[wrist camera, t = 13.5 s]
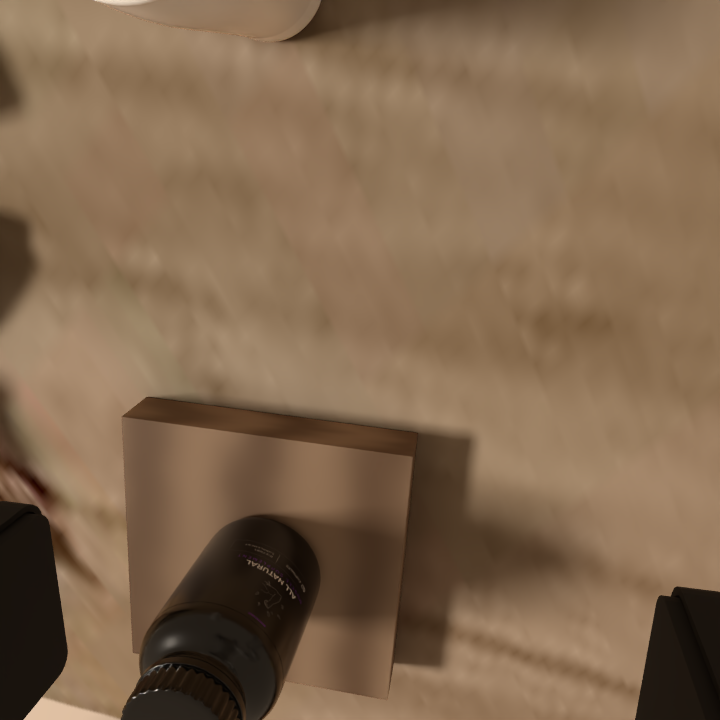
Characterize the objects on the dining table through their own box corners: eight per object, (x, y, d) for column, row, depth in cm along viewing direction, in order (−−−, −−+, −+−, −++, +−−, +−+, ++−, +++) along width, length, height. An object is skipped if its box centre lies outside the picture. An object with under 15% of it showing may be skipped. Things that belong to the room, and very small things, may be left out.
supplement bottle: (324, 519, 37) (256, 685, 26) (322, 622, 40) (259, 817, 28) (204, 504, 38) (89, 658, 27) (208, 606, 41) (104, 787, 29)
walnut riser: (417, 433, 38) (412, 456, 35) (393, 663, 43) (387, 700, 41) (146, 397, 40) (121, 416, 38) (154, 620, 46) (132, 652, 43)
